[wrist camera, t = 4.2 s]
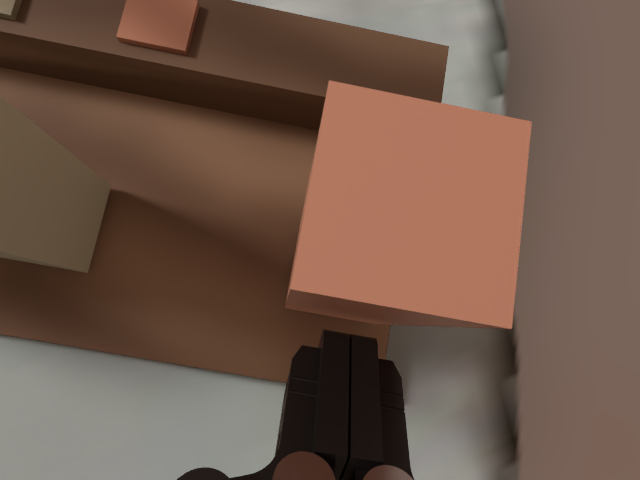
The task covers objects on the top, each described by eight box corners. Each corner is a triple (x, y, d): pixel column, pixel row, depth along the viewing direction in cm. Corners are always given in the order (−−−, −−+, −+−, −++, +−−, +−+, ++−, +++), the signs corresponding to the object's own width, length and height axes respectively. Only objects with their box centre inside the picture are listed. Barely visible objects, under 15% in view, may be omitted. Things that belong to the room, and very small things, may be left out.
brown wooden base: (373, 393, 19) (401, 415, 15) (-316, 276, 18) (-514, 261, 13) (416, 98, 22) (451, 41, 17) (-187, -25, 20) (-319, -122, 16)
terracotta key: (373, 324, 18) (511, 328, 7) (284, 308, 18) (290, 288, 7) (386, 236, 19) (532, 121, 8) (300, 220, 18) (329, 80, 8)
